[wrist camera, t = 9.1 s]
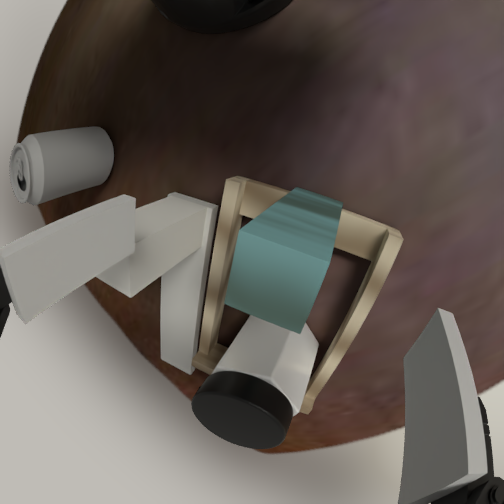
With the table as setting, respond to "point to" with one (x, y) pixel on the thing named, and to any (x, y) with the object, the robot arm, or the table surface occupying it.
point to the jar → (257, 385)
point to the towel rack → (288, 266)
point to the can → (60, 163)
